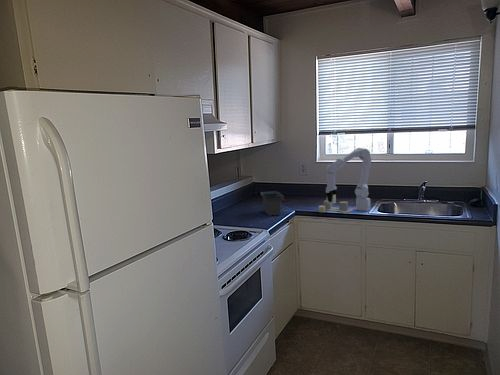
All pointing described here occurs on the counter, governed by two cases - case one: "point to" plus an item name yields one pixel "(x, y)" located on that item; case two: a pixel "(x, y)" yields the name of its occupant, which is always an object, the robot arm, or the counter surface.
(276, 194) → the storage bin
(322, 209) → the block
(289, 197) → the counter surface
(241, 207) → the counter surface
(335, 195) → the block
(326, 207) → the din rail
